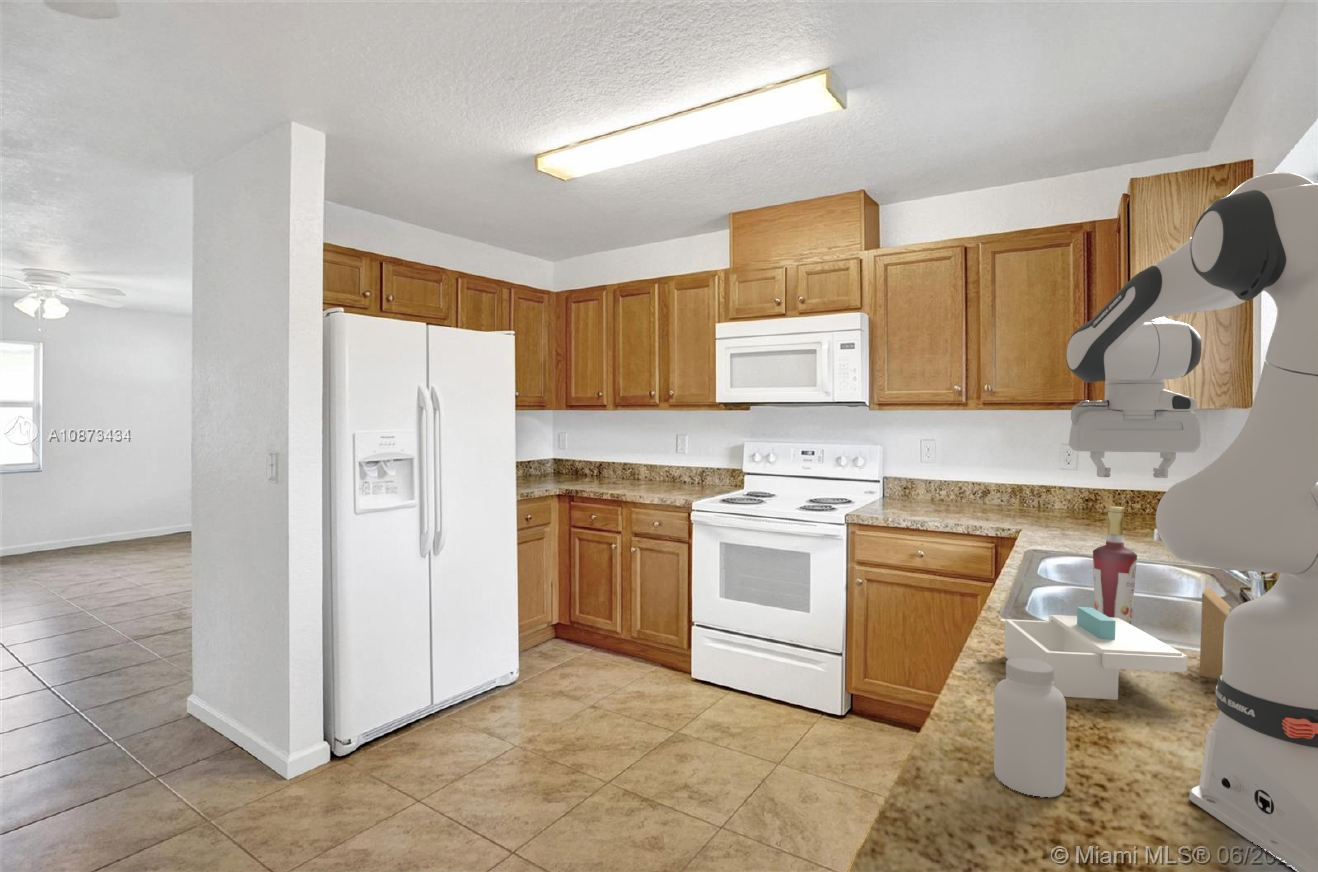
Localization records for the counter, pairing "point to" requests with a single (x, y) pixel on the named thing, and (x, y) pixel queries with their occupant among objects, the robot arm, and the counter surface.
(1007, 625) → the box
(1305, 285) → the robot arm
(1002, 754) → the pill bottle
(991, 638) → the counter surface
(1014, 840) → the counter surface
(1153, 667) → the lid
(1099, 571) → the liquor
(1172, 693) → the counter surface
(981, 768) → the counter surface
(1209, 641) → the sandwich container
